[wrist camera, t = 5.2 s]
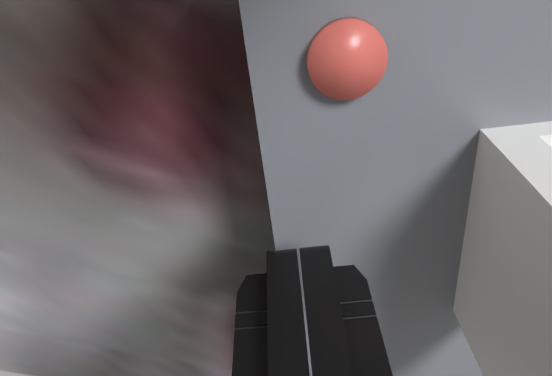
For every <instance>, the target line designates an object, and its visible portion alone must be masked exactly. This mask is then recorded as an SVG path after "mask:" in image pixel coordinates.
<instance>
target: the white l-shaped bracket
mask: <svg viewBox="0 0 552 376" xmlns="http://www.w3.org/2000/svg"><path fill="white" fill-rule="evenodd" d="M453 311H454V313H455V316H456V318H457V320H458V322H459V324H460V326H461V329H462V331H463V333H464V335H465V337H466V339H467V342H468V344H469V346H470V348H471V350H472V352H473V355H474V357H475V359H476V361H477V363H478V365H479V368H480V370H481V372H482V374H483V376H552V121H549V122H540V123H531V124H522V125H513V126H504V127H495V128H486V129H480V133H479V140H478V146H477V153H476V160H475V166H474V173H473V180H472V186H471V193H470V200H469V206H468V213H467V220H466V226H465V233H464V240H463V246H462V253H461V260H460V266H459V273H458V280H457V286H456V293H455V300H454V306H453Z"/></svg>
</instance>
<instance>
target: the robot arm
mask: <svg viewBox="0 0 552 376" xmlns="http://www.w3.org/2000/svg"><path fill="white" fill-rule="evenodd" d="M299 251H300V261H301V271H302V280H303V290H304V300H305V309H306V319H307V329H308V338H309V348H310V358H311V367H312V376H393V374H392V371H391V367H390V363H389V360H388V356H387V352H386V348H385V345H384V341H383V337H382V334H381V330H380V326H379V322H378V319H377V317H376V311H375V308H374V304H373V302H372V297H371V293H370V289H369V285H368V282H367V279H366V278H365V277H364V276H363V275H362V274H361V272H360V271H359V270H358V269H357V268H356V267H355V266H354V265H345V266H335V267H333V263H332V257H331V252H330V247H329V245H324V246H314V247H304V248H299ZM232 376H310V373H309V363H308V353H307V343H306V332H305V322H304V312H303V302H302V293H301V284H300V275H299V266H298V257H297V249H286V250H276V251H267V273H265V274H255V275H247V276H246V278H245V280H244V281H243V283H242V285H241V287H240V288H239V290H238V292H237V302H236V318H235V334H234V349H233V365H232Z"/></svg>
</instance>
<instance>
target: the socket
mask: <svg viewBox="0 0 552 376" xmlns="http://www.w3.org/2000/svg"><path fill="white" fill-rule="evenodd" d="M239 7H240V14H241V21H242V27H243V34H244V41H245V48H246V54H247V61H248V68H249V75H250V81H251V88H252V95H253V102H254V108H255V115H256V122H257V129H258V135H259V142H260V149H261V156H262V162H263V169H264V176H265V183H266V189H267V196H268V203H269V210H270V216H271V223H272V230H273V237H274V243H275V250H286V249H297V257H298V266H299V275H300V284H301V293H302V302H303V312H304V322H305V332H306V343H307V353H308V363H309V373H310V376H312V367H311V358H310V348H309V338H308V329H307V319H306V309H305V300H304V290H303V280H302V271H301V261H300V251H299V248H304V247H314V246H324V245H329V247H330V252H331V257H332V263H333V267H335V266H345V265H354V266H355V267H356V268H357V269H358V270H359V271H360V272H361V274H362V275H363V276H364V277H365V278H366V279H367V282H368V285H369V289H370V293H371V297H372V302H373V304H374V308H375V311H376V317H377V319H378V322H379V326H380V330H381V334H382V337H383V341H384V345H385V348H386V352H387V356H388V360H389V363H390V367H391V371H392V374H393V376H483V374H482V372H481V370H480V368H479V365H478V363H477V361H476V359H475V357H474V355H473V352H472V350H471V348H470V346H469V344H468V342H467V339H466V337H465V335H464V333H463V331H462V329H461V326H460V324H459V322H458V320H457V318H456V316H455V313H454V311H453V306H454V300H455V293H456V286H457V280H458V273H459V266H460V260H461V253H462V246H463V240H464V233H465V226H466V220H467V213H468V206H469V200H470V193H471V186H472V180H473V173H474V166H475V160H476V153H477V146H478V140H479V133H480V129H486V128H495V127H504V126H513V125H522V124H531V123H540V122H549V121H552V0H239Z"/></svg>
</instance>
